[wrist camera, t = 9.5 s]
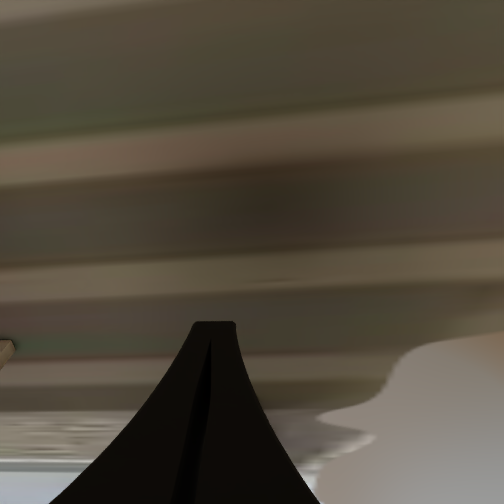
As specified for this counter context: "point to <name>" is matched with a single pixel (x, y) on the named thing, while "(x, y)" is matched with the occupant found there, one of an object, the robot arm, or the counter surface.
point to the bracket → (5, 351)
